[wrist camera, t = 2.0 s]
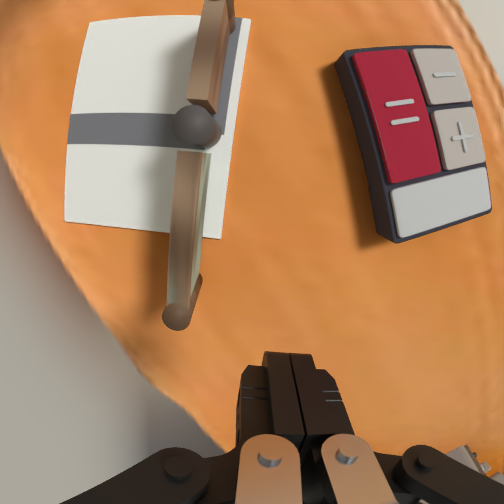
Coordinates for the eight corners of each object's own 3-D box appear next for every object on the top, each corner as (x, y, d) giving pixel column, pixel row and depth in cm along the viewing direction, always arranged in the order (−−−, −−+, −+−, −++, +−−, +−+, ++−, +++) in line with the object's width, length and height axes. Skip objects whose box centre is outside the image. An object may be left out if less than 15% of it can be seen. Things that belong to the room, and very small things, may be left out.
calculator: (457, 42, 17) (498, 213, 21) (433, 55, 21) (470, 207, 25) (344, 46, 18) (398, 248, 21) (330, 64, 22) (376, 236, 25)
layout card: (91, 23, 19) (89, 22, 19) (251, 20, 20) (251, 19, 19) (66, 220, 24) (64, 221, 24) (221, 238, 25) (220, 239, 25)
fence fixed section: (212, 18, 20) (201, -26, 13) (239, 20, 20) (238, -24, 13) (191, 146, 23) (169, 142, 16) (219, 149, 23) (209, 146, 16)
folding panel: (191, 151, 22) (172, 150, 16) (215, 153, 22) (204, 153, 16) (179, 288, 25) (162, 328, 19) (201, 291, 25) (189, 332, 19)
